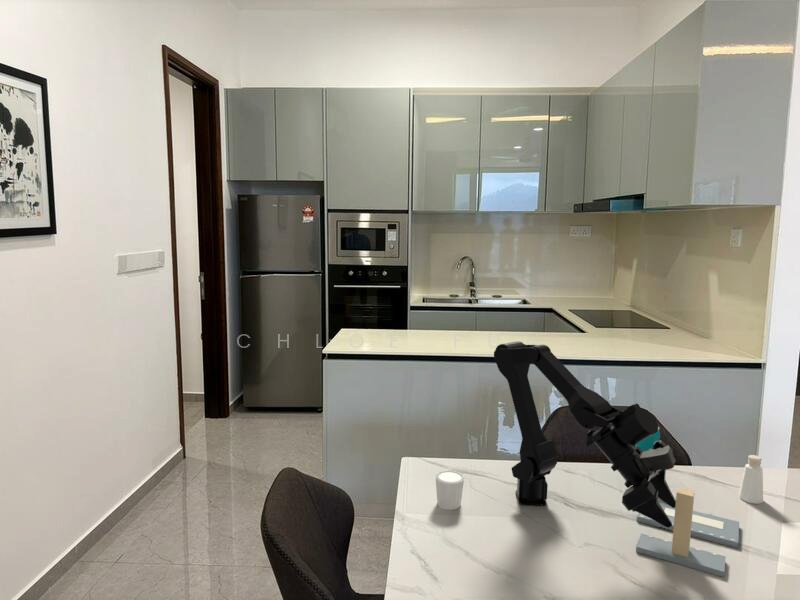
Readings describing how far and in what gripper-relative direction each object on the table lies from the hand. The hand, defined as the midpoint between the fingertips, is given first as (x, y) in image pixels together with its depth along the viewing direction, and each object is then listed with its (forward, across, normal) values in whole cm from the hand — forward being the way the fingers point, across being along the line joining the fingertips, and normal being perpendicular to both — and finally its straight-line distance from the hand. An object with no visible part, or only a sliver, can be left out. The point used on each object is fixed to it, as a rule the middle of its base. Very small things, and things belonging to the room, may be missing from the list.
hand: (673, 516), depth 118 cm
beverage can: (-1, +34, +13) cm, 36 cm away
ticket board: (+7, +15, +4) cm, 17 cm away
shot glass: (-28, -6, +40) cm, 49 cm away
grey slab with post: (+7, 0, +4) cm, 9 cm away
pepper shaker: (+16, +37, -4) cm, 41 cm away
